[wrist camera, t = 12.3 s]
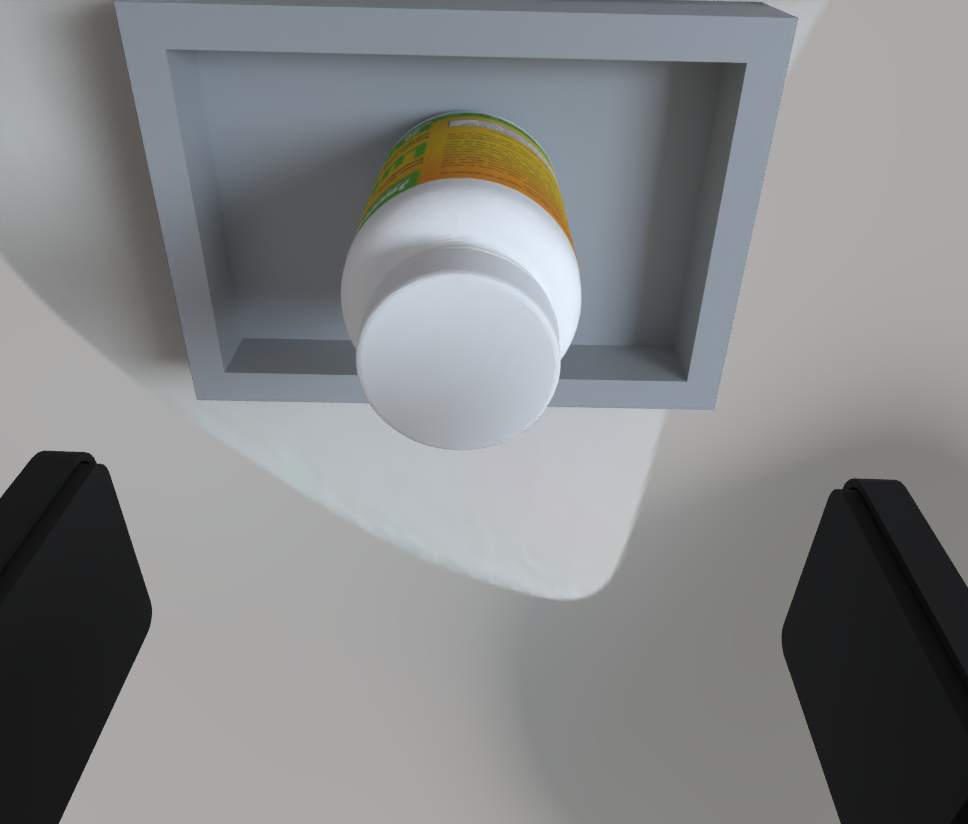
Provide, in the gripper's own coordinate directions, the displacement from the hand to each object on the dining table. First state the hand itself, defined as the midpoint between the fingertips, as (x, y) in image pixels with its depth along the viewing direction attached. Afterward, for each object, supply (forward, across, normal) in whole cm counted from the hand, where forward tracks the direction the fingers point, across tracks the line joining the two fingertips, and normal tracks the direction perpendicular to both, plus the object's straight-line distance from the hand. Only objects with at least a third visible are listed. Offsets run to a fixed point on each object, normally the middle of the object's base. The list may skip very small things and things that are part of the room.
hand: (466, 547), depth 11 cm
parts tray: (+16, +1, +1) cm, 16 cm away
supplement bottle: (+15, +1, +1) cm, 15 cm away
